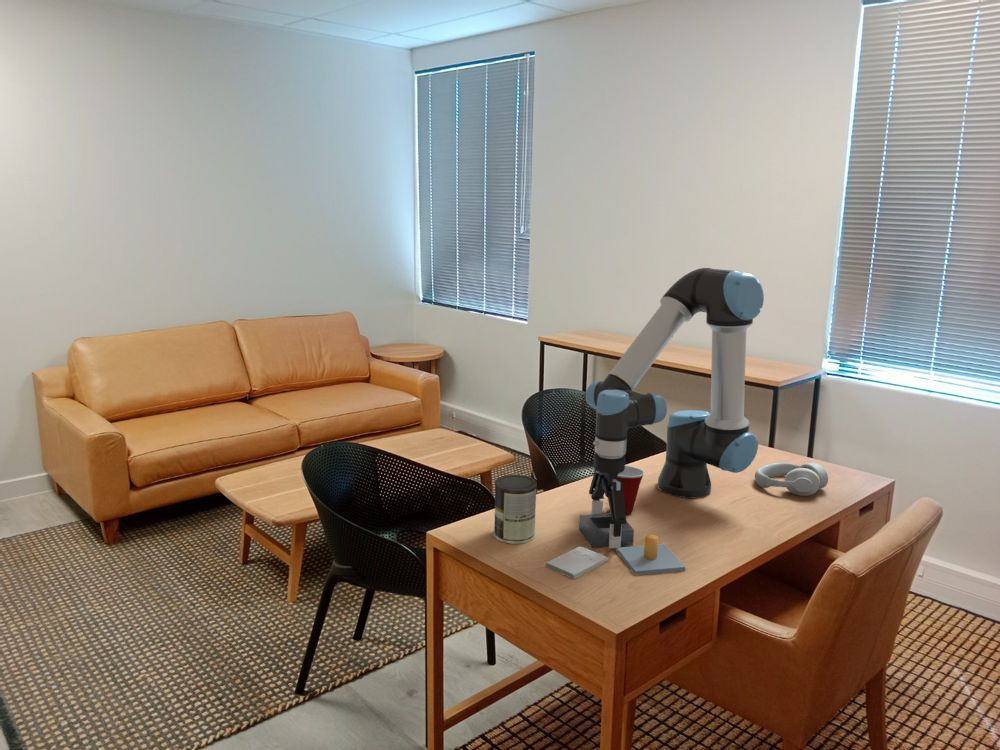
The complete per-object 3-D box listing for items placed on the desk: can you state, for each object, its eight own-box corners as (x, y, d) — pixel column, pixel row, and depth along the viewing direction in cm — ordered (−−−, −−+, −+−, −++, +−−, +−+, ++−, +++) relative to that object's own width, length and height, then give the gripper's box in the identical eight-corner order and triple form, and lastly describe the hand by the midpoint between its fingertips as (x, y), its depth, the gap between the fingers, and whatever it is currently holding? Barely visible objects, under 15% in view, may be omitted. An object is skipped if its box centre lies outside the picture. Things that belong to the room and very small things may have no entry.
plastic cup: (648, 509, 212) (651, 467, 209) (633, 522, 203) (636, 479, 200) (611, 500, 217) (613, 459, 215) (595, 513, 208) (597, 471, 205)
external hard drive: (545, 568, 178) (579, 551, 187) (573, 581, 173) (607, 562, 181) (545, 562, 178) (579, 545, 186) (574, 574, 172) (607, 556, 181)
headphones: (837, 486, 230) (772, 478, 244) (836, 460, 229) (771, 453, 243) (811, 502, 217) (744, 492, 231) (810, 475, 216) (743, 467, 230)
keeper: (663, 547, 189) (665, 524, 187) (685, 570, 177) (687, 546, 176) (616, 551, 186) (617, 528, 185) (635, 575, 175) (636, 550, 173)
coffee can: (485, 536, 193) (486, 483, 189) (508, 523, 201) (510, 471, 198) (520, 548, 187) (522, 492, 184) (543, 533, 195) (544, 480, 192)
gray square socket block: (617, 527, 200) (618, 512, 199) (633, 545, 190) (634, 529, 189) (578, 530, 198) (579, 515, 197) (591, 548, 188) (592, 532, 187)
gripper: (579, 439, 200) (575, 516, 205) (612, 472, 176) (607, 559, 181) (607, 438, 201) (602, 514, 206) (644, 470, 178) (638, 556, 182)
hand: (605, 535), depth 194 cm, fingers open, 13 cm apart
